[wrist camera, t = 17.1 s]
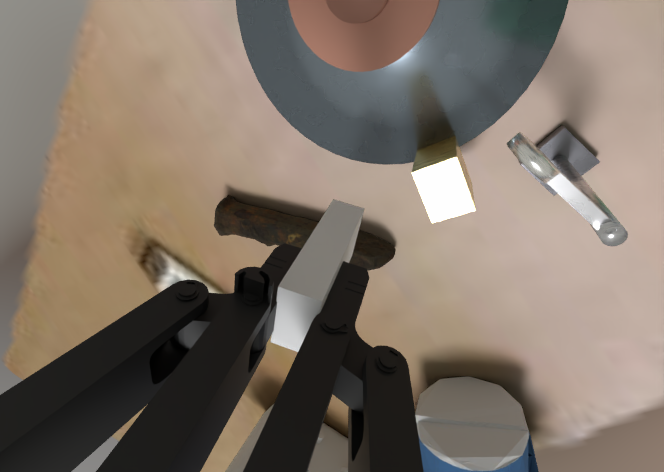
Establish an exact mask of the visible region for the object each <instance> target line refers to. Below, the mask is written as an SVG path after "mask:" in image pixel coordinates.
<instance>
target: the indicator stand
mask: <svg viewBox="0 0 664 472" xmlns="http://www.w3.org/2000/svg"><path fill="white" fill-rule="evenodd" d="M507 145H508V147H509V148H510V150H511V151H512V152H513V153H514V155H515V156H516V157H517V158H518V159H519V162H520V165H521V166H523V167H524V168H525V169H526V170H527V171H528V172H529V173H530V174H531V175H532V176H533V177H534V178H535V179H537V180H538V181H539V182H540V183H541V184H542V185H543V186H544V187H545V188H546V189H547V190H548V191H549V192H550V193H552V194H553V195H556V194H557V193H558V194H559V195H560V196H561V197H562V198H563V199H564V200H566V201H567V202H568V203H569V204H570V205H571V206H572V207H573V208H574V209H575V210H576V211H577V212H578V213H579V214H581V215H582V216H583V217H584V218H585V219H586V220H587V221H588V222H589V223H590V225H591V226H592V228H593V229H594V230H595V232H596V233H597V235H598V236H599V238H600V239H601V241H602V242H603V243H604V244H605V245H607V246H617V245H620V244H622V243H623V242H624V241H625V240H626V239H627V237H628V233H627V231H626V230H625V228H624V227H623V226H622V225H621V224H620V222H619V221H618V220H617V219H616V218H615V216H614V215H613V214H612V213H611V211H610V210H609V209H608V208H607V207H606V205H605V204H604V203H603V202H602V201H601V199H600V198H599V197H598V196H597V195H596V193H595V192H594V191H593V190H592V188H591V187H590V186H589V185H588V184H587V182H586V181H585V180H584V179H583V178H582V175H583V174H584V173H586V172H587V171H588V170H590V169H591V168H593V167H594V166H595V165H597V164H598V163H599V162H600V161H599V160H598V159H597V158H596V157H595V156H594V155H593V154H592V153H591V152H590V151H589V150H588V149H587V148H586V147H584V146H583V145H582V144H581V143H580V142H579V141H578V140H577V139H576V138H575V137H574V136H573V135H572V134H571V133H570V132H569V131H568V130H567V129H566V128H565V127H564V126H563V125H561V126H560V127H558V128H557V129H556V130H555V131H554V132H552V133H551V134H550V135H549V136H548V137H546V138H545V139H544V140H543V141H542V142H540V143H539V144H538V145H537V146H536V145H535V144H534V143H532V142H531V141H530V140H529V139H528V138H527V137H526V136H525V135H523V134H522V133H521V132H519V133H518V134H517V135H516V136H514V137H513V138H512V139H511V140H510V141H509V142H508V143H507Z"/></svg>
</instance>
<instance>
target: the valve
mask: <svg viewBox="0 0 664 472" xmlns="http://www.w3.org/2000/svg"><path fill="white" fill-rule="evenodd" d="M415 416H416V423H417V429H418V436H419V443H420V450H421V457H422V464H423V471H424V472H538V467H537V463H536V458H535V454H534V449H533V445H532V440H531V436H530V433H529V430H528V427H527V423H526V420H525V416H524V413H523V409H522V406H521V405H520V404H519V403H518V402H517V401H516V400H515V399H514V398H513V397H512V396H511V395H510V394H509V393H508V392H507V391H505V390H504V389H503V388H502V387H501V386H500V385H497V384H493V383H490V382H486V381H483V380H479V379H476V378H473V377H457V378H446V379H439V380H438V381H437V382H435V383H434V384H433V385H431V386H430V387H429V388H427V389H426V390H425V391H423V392H422V393H421V394H420V396H419V400H418V404H417V408H416V413H415Z"/></svg>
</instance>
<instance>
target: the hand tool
mask: <svg viewBox="0 0 664 472" xmlns="http://www.w3.org/2000/svg"><path fill="white" fill-rule="evenodd" d="M318 223H319V222H315V221H312V220H309V219H306V218H303V217H296V216H292V215H288V214H284V213H280V212H277V211H274V210H270V209H267V208H260V207H256V206H251V205H246V204H242V203H239V202H236V201H235V199H234V197H232V196H230V195H228V196H227V197H226V198H224V199H223V200H222V201H220V203H219V204H218V205H217V208H216V210H215V223H214V227H215V228H216V230H217V231H218V233H219V235H221V236H223V235H231V234H232V235H239V236H242V237H247V238H252V239H255V240H257V241H259V242H261V243H264V244H266V245H267V246H272V245H275V244H276V245H279V246H280V245H282V244H284V243H286V244H289V245H292V246H296V247H299V248H303V247H304V245H305V243H306V242H307V240H308V239H309V237H310V235H311V234H312V232H313V231H314V229H315V228H316V226H317V224H318ZM394 255H395V247H394V246H392V245H391V244H390V243H388V242H386V241H384V240H382V239H380V238H378V237H376V236H374V235H372V234H369V233H365V232H363V231H361V230H359V231H358V235H357V239H356V243H355V246H354V250H353V254H352V257H351V259H350V262H349V263H351V264H354V265H357V266H360V267H363V268H366V269H367V270H372V269H377V268H380V267H382V266H383V265H385V264H386V263H387V262H389V261H390V260H391V259H393V257H394Z"/></svg>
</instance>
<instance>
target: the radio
mask: <svg viewBox="0 0 664 472" xmlns="http://www.w3.org/2000/svg"><path fill="white" fill-rule="evenodd" d="M273 405H274V404H273ZM273 405H272V406H271V407H270V408H269V409H268V410H267V411H266V412H265V413H264V414H263V415H262V417H261V418H260V420H259V421H258V423H257V424H256V426H255V427H254V429H253V430H252V432H251V433H250V435H249V436H248V438H247V440H246V441H245V443H244V444H243V446H242V447H241V449H240V450H239V452H238V453H237V455H236V456H235V458H234V459H233V461H232V462H231V464H230V465H229V467H228V468H227V470H226V471H225V472H243V470H244V468H245V466H246V464H247V462H248V460H249V457H250V455H251V453H252V451H253V449H254V447H255V444H256V442H257V440H258V438H259V436H260V434H261V431H262V429H263V427H264V425H265V423H266V421H267V418H268V416H269V414H270V412H271V410H272V408H273ZM307 472H348V438H346V437H345V436H343V435H342V434H340V433H339V432H337V431H336V430H334V429H332V428H331V427H329V426H328V425H326V424H325V423H323V424H322V427H321V431H320V434H319V437H318V440H317V443H316V446H315V449H314V452H313V455H312V458H311V461H310V464H309V468H308V471H307Z"/></svg>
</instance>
